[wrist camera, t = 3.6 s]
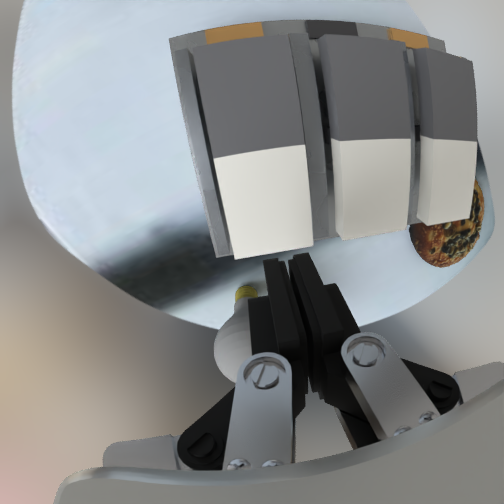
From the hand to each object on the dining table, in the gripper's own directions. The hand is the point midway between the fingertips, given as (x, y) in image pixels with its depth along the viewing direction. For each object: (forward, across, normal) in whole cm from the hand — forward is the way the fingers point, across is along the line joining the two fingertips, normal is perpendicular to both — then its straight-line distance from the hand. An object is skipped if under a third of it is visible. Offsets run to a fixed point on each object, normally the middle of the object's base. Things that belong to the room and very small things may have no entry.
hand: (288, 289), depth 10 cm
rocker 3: (+4, -11, -5) cm, 13 cm away
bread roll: (+13, -20, +5) cm, 24 cm away
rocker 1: (+4, 0, -5) cm, 6 cm away
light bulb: (+13, +3, +9) cm, 16 cm away
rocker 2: (+4, -5, -5) cm, 8 cm away
